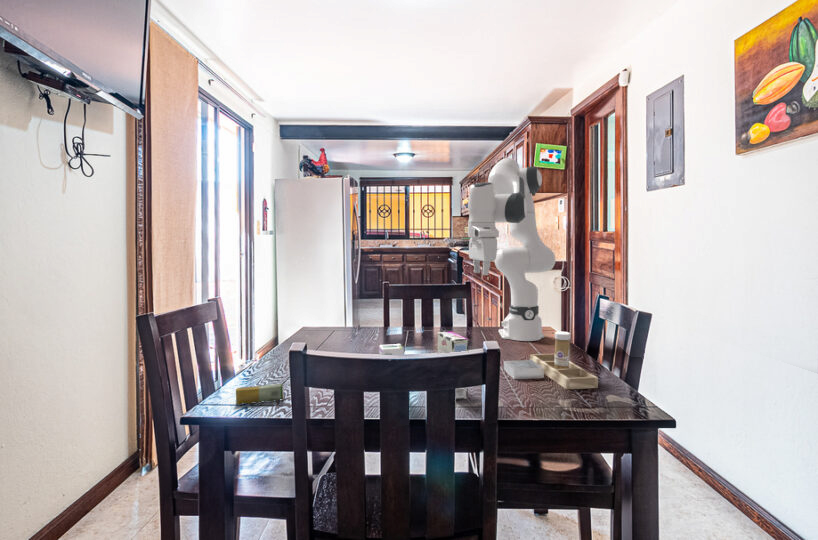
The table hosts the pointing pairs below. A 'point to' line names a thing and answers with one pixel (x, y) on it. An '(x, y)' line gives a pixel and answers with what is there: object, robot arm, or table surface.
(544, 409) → the table surface
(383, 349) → the syrup box
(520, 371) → the socket block
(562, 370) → the wooden compartment tray
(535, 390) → the table surface
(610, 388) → the table surface
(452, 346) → the candy bar box
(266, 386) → the medication box
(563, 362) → the sprinkles bottle
